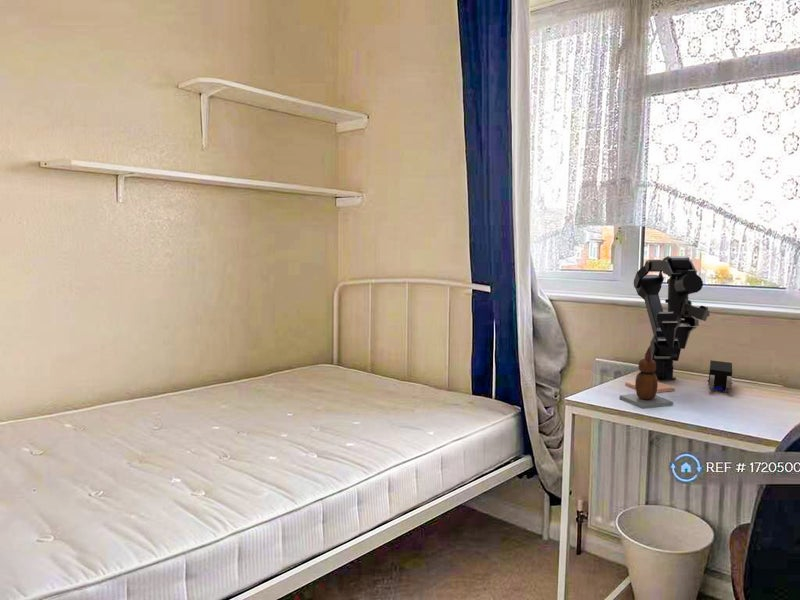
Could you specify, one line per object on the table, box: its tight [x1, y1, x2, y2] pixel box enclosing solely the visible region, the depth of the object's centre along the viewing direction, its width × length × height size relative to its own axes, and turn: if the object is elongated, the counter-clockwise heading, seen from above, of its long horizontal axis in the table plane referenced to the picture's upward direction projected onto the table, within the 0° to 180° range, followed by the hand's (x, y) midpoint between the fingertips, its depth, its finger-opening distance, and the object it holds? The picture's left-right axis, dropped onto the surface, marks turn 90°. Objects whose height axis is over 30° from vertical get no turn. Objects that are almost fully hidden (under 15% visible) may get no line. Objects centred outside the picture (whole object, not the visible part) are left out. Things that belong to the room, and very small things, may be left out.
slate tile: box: [619, 393, 674, 409], centre depth 171 cm, size 10×10×1 cm
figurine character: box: [707, 359, 733, 394], centre depth 184 cm, size 7×8×15 cm
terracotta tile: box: [624, 380, 676, 394], centre depth 186 cm, size 10×10×1 cm
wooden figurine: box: [635, 347, 659, 400], centre depth 170 cm, size 7×6×15 cm
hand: (677, 347), depth 183 cm, fingers open, 9 cm apart
